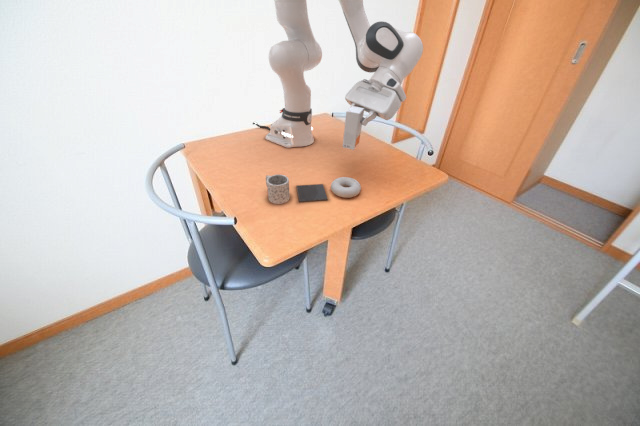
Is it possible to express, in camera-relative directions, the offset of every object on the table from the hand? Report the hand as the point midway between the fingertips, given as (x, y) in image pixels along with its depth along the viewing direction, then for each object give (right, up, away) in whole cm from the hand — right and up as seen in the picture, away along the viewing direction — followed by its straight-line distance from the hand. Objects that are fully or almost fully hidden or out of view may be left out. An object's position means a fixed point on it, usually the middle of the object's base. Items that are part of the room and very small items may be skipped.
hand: (355, 120), depth 87 cm
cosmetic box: (-1, -7, +4) cm, 8 cm away
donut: (-3, -22, +4) cm, 23 cm away
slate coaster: (-14, -23, +2) cm, 27 cm away
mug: (-26, -24, +1) cm, 35 cm away
